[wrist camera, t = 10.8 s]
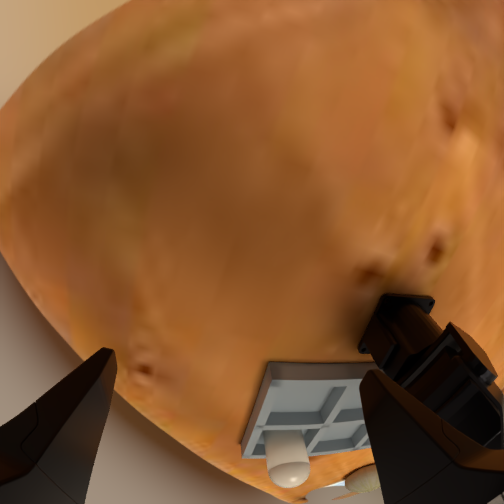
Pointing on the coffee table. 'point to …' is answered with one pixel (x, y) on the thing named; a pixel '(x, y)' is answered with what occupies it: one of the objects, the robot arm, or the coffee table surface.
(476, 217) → the coffee table surface
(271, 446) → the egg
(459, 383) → the robot arm
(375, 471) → the sea urchin shell
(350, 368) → the grey compartment tray
